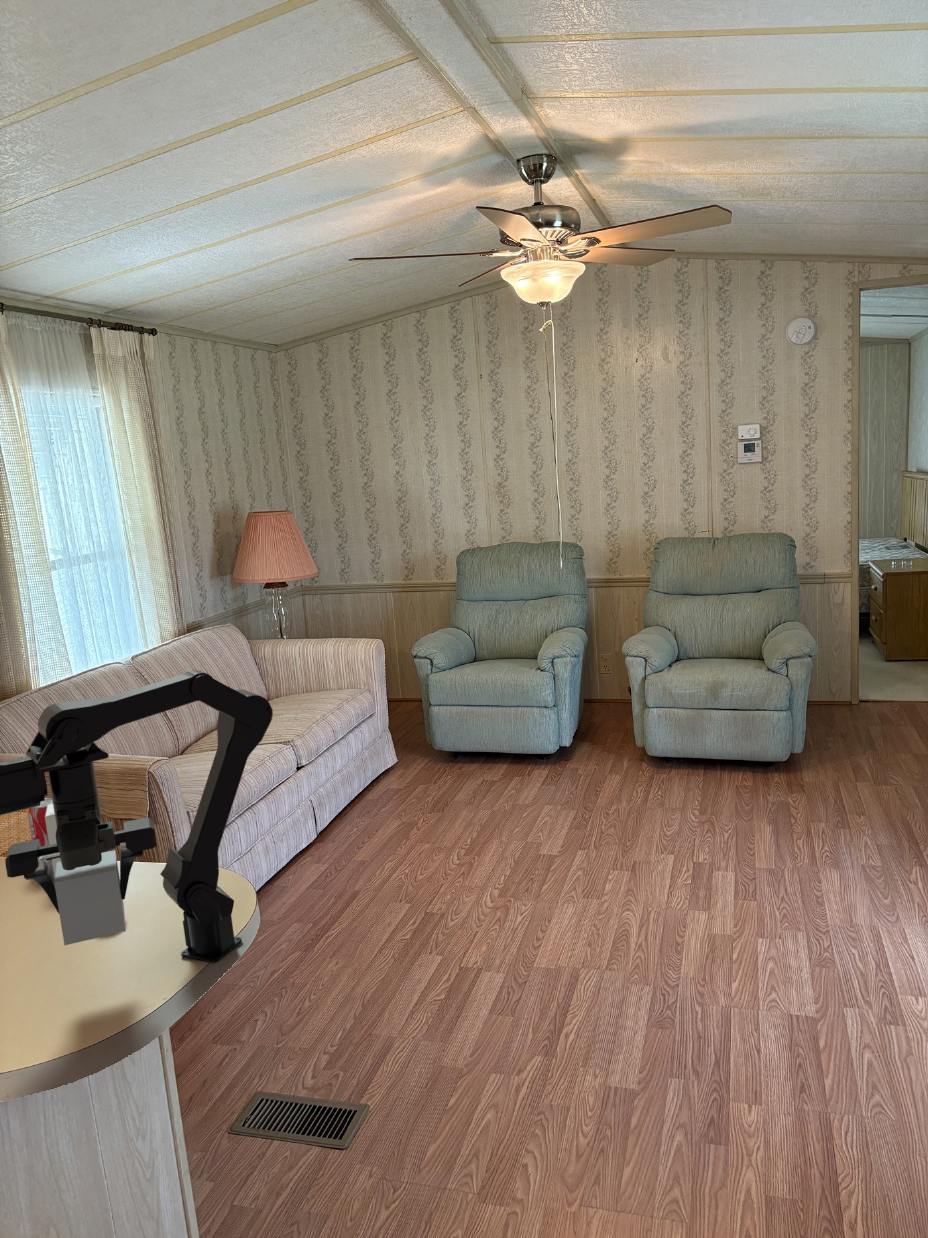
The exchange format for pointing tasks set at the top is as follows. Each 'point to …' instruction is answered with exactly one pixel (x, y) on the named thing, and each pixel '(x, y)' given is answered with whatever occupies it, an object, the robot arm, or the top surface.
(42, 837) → the beverage can
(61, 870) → the pale grey box
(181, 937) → the top surface
